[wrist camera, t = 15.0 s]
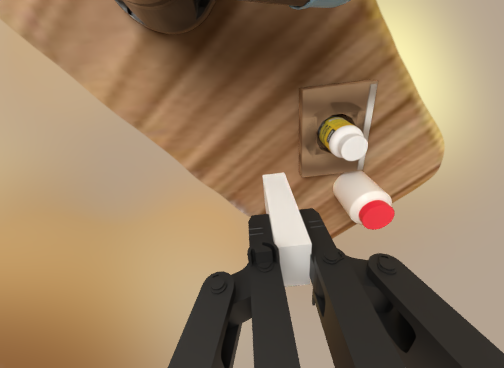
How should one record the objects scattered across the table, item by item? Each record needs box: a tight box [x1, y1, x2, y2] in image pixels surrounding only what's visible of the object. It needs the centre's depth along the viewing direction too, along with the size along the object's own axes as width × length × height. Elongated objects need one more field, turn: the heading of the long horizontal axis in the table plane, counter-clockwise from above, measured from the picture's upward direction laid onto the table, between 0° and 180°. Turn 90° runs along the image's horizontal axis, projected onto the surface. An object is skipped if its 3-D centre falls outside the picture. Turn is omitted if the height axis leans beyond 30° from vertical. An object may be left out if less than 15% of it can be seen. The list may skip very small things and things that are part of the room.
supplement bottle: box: [318, 116, 368, 161], centre depth 36 cm, size 5×5×10 cm
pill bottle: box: [333, 171, 394, 230], centre depth 42 cm, size 8×8×11 cm
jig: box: [299, 80, 378, 177], centre depth 39 cm, size 16×12×3 cm
